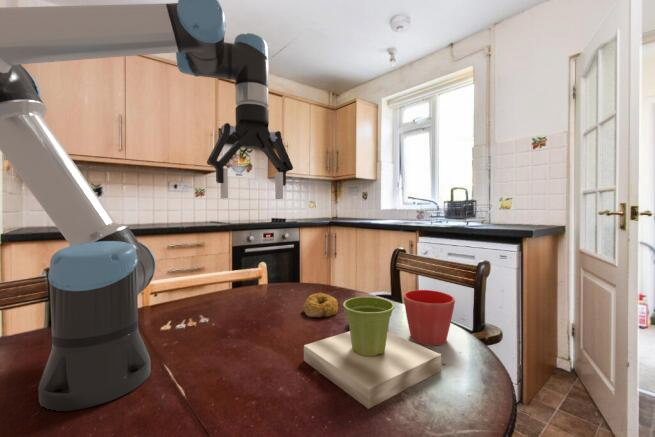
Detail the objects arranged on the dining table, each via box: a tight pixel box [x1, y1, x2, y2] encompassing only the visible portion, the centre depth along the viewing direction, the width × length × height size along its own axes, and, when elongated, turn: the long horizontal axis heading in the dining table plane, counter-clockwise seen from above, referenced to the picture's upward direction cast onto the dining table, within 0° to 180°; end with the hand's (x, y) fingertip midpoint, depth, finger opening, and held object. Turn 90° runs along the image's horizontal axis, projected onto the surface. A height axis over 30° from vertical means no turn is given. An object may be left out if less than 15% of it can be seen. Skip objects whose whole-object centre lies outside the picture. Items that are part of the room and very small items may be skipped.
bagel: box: [302, 292, 339, 318], centre depth 88 cm, size 10×11×5 cm
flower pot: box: [403, 289, 456, 346], centre depth 70 cm, size 11×11×10 cm
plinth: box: [303, 330, 442, 409], centre depth 58 cm, size 18×18×3 cm
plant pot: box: [342, 296, 395, 357], centre depth 58 cm, size 9×9×9 cm
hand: (253, 198), depth 73 cm, fingers open, 13 cm apart
